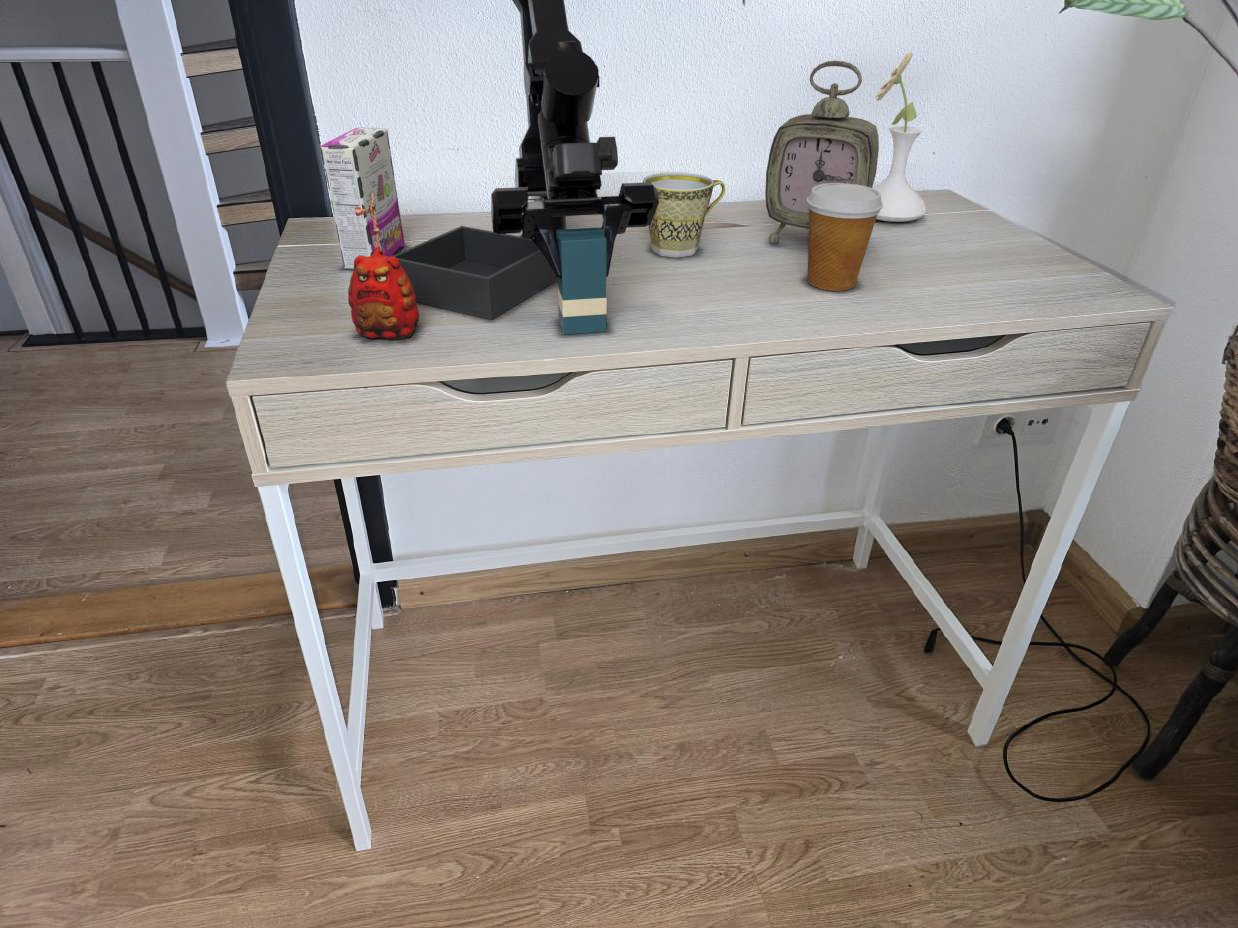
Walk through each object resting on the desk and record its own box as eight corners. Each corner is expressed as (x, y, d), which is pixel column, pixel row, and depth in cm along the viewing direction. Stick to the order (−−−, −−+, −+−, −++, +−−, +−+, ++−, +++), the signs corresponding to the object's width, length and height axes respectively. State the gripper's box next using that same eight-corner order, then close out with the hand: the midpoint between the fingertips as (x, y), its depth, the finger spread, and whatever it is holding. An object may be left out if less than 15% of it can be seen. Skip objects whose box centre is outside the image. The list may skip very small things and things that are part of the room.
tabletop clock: (758, 246, 122) (778, 61, 108) (771, 229, 129) (792, 54, 115) (856, 259, 117) (890, 68, 104) (864, 241, 124) (897, 60, 111)
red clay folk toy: (347, 343, 91) (322, 208, 83) (363, 318, 97) (341, 190, 89) (415, 344, 91) (397, 209, 83) (427, 319, 97) (411, 191, 89)
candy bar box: (373, 244, 120) (355, 126, 111) (405, 246, 120) (389, 128, 111) (340, 270, 111) (317, 143, 102) (375, 272, 110) (355, 145, 101)
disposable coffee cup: (870, 275, 112) (887, 186, 105) (864, 300, 104) (882, 205, 98) (800, 267, 114) (813, 179, 108) (790, 290, 107) (802, 197, 100)
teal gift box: (558, 321, 97) (555, 225, 91) (600, 318, 98) (600, 223, 92) (563, 335, 94) (560, 236, 88) (606, 332, 95) (607, 234, 88)
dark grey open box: (465, 261, 114) (461, 225, 112) (557, 280, 109) (556, 243, 106) (392, 297, 103) (387, 257, 100) (491, 320, 97) (488, 279, 94)
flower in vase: (877, 204, 142) (907, 44, 128) (937, 218, 135) (975, 51, 121) (834, 218, 134) (860, 49, 121) (895, 234, 127) (930, 57, 114)
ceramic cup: (662, 265, 114) (665, 193, 108) (628, 245, 121) (630, 176, 116) (739, 252, 119) (745, 182, 114) (702, 233, 126) (707, 167, 121)
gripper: (485, 110, 85) (500, 247, 82) (658, 106, 88) (679, 238, 85) (485, 170, 96) (499, 293, 93) (640, 164, 99) (658, 283, 96)
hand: (583, 277), depth 91 cm, fingers closed on teal gift box, 5 cm apart
